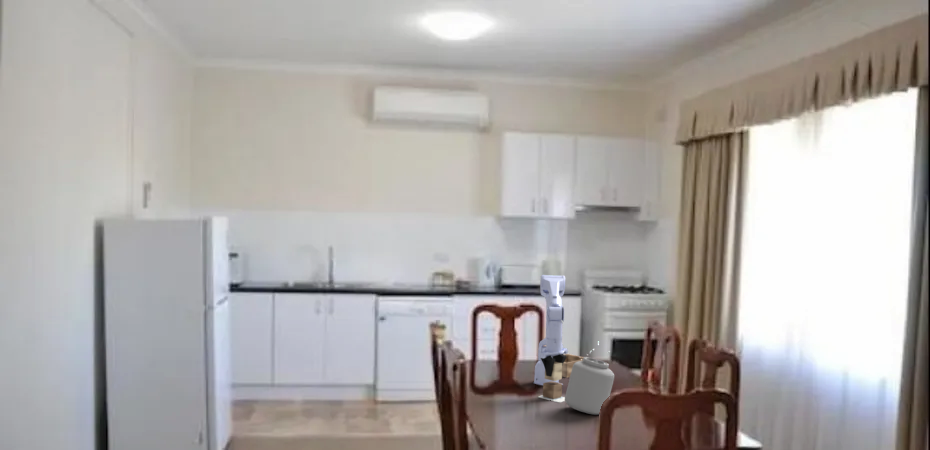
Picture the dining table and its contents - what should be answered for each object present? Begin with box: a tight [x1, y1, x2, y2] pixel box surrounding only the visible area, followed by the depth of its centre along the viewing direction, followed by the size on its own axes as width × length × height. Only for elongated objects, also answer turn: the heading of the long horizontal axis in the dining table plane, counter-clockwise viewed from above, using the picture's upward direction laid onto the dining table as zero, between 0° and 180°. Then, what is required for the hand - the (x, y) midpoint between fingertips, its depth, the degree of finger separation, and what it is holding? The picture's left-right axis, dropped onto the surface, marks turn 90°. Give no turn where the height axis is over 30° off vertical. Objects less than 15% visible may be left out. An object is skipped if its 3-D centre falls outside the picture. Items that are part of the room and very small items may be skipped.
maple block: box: [545, 362, 563, 381], centre depth 278 cm, size 4×4×6 cm
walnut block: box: [542, 381, 563, 399], centre depth 278 cm, size 5×5×5 cm
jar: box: [564, 341, 615, 416], centre depth 261 cm, size 19×15×25 cm
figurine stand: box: [562, 353, 585, 378], centre depth 321 cm, size 12×16×6 cm
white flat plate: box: [537, 394, 565, 404], centre depth 278 cm, size 10×7×1 cm
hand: (553, 375), depth 278 cm, fingers closed on maple block, 4 cm apart
